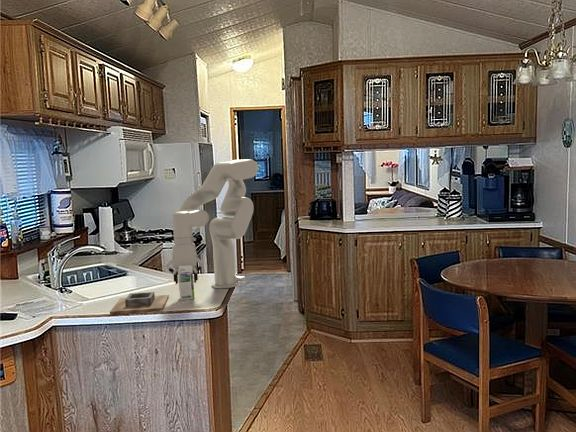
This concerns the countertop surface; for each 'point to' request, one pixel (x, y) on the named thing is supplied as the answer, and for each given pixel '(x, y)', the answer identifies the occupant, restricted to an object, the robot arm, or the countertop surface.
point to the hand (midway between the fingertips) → (186, 282)
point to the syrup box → (186, 282)
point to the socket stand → (140, 303)
